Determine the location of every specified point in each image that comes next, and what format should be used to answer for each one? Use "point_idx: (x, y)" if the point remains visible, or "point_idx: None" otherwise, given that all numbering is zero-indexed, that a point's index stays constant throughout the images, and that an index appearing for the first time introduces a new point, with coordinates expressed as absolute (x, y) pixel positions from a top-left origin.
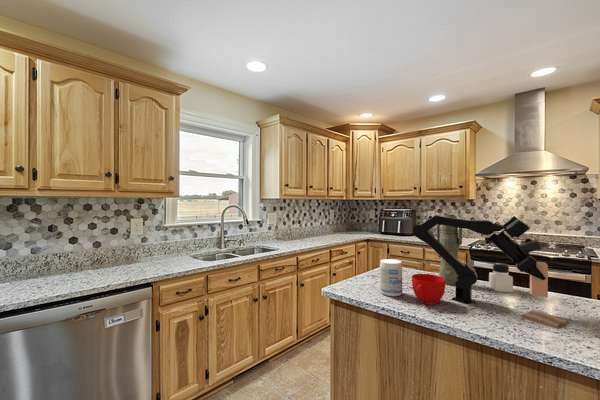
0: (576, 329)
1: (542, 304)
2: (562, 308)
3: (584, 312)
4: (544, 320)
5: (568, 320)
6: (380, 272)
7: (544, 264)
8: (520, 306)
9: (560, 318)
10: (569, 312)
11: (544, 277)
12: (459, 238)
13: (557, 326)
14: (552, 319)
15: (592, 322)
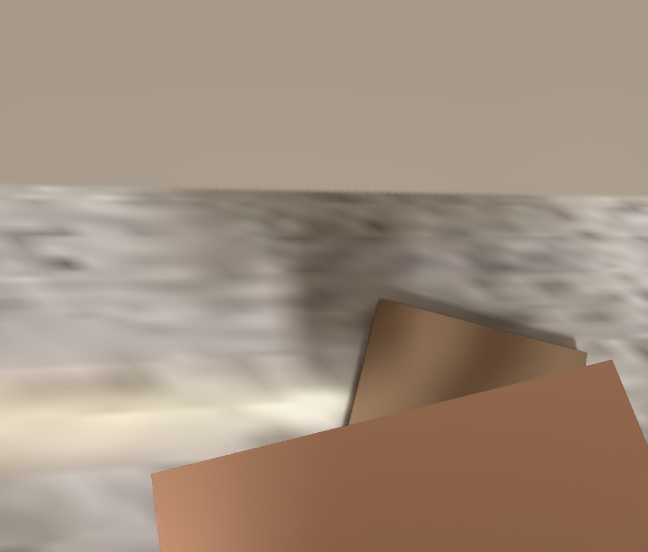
0: (488, 265)
1: (49, 481)
2: (66, 348)
3: (70, 231)
4: None
5: (386, 301)
6: None
7: (610, 462)
8: None
9: (396, 342)
10: (141, 306)
11: None
12: None
13: (571, 350)
14: (466, 383)
15: (268, 198)
